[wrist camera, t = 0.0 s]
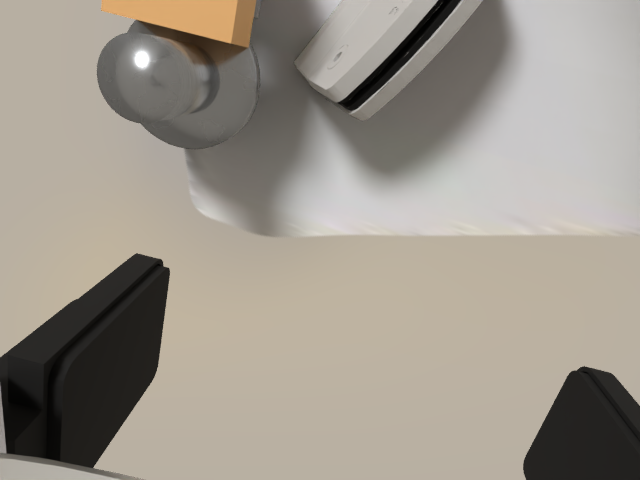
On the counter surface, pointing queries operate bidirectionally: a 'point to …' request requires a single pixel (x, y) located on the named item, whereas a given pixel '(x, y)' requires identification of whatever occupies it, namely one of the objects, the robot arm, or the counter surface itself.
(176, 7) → the bracket
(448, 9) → the white curved casing
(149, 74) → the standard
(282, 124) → the counter surface
